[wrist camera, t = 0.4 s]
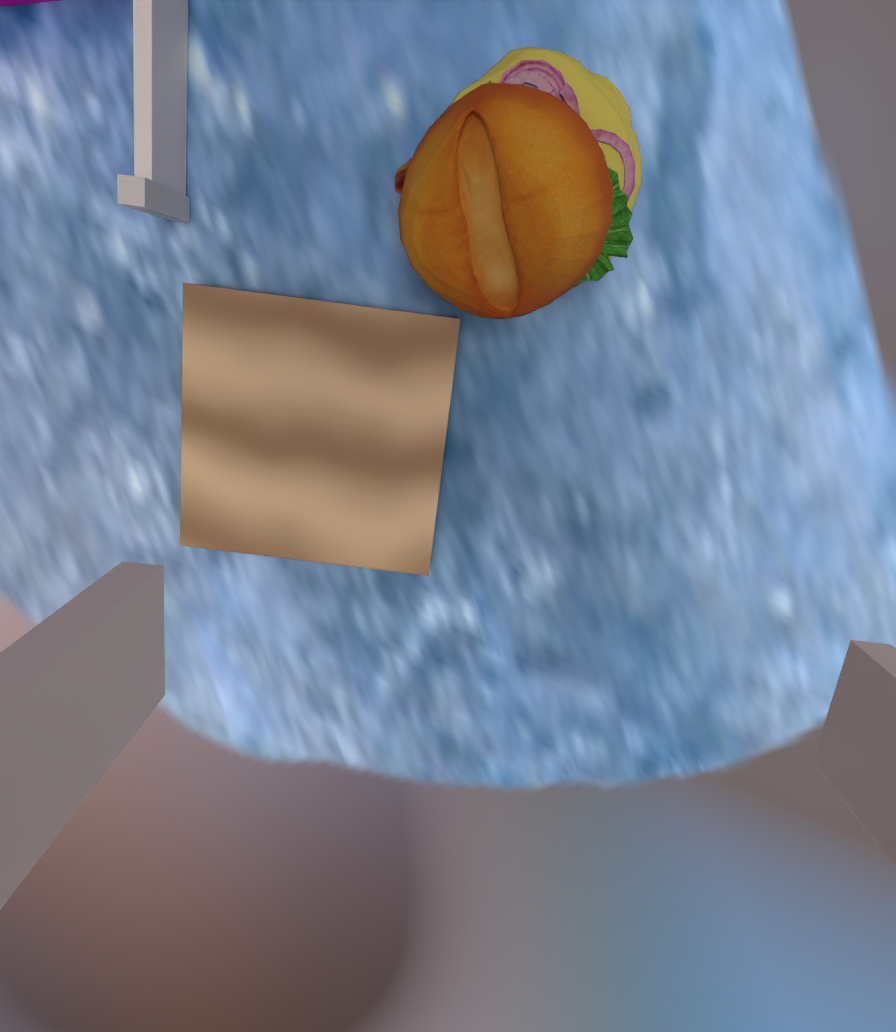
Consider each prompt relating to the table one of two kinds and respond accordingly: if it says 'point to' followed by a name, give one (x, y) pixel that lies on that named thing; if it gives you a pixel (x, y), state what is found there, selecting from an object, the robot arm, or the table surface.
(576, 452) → the table surface
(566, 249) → the cheeseburger
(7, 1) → the toy block
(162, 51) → the grey bracket pieces
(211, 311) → the board
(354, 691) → the table surface
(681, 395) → the table surface
